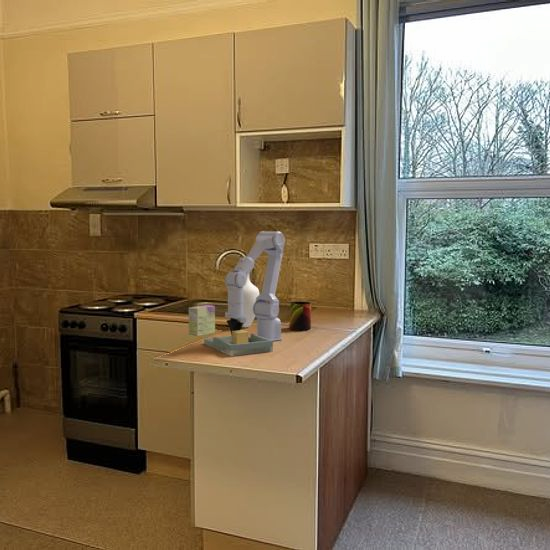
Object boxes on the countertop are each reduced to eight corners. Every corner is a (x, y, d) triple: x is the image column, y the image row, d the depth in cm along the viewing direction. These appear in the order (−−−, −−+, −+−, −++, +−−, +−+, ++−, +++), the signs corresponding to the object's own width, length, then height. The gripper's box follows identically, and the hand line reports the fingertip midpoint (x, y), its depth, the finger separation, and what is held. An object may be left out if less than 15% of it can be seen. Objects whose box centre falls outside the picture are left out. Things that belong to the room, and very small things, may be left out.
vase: (229, 324, 261) (229, 265, 259) (259, 324, 261) (259, 265, 259) (227, 330, 247) (227, 267, 244) (259, 330, 247) (259, 267, 245)
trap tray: (243, 339, 225) (243, 329, 225) (272, 351, 204) (272, 340, 204) (204, 343, 217) (204, 333, 217) (230, 356, 196) (230, 345, 196)
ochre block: (242, 341, 212) (242, 329, 211) (248, 343, 208) (248, 331, 208) (232, 342, 210) (232, 330, 209) (237, 344, 206) (237, 333, 205)
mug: (305, 325, 259) (305, 300, 258) (313, 331, 246) (313, 304, 245) (285, 326, 257) (285, 300, 256) (292, 331, 244) (292, 304, 243)
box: (206, 331, 243) (206, 304, 242) (215, 333, 240) (215, 305, 239) (188, 334, 235) (188, 307, 234) (197, 336, 232) (197, 308, 231)
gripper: (218, 301, 215) (218, 336, 216) (234, 306, 202) (233, 342, 204) (234, 300, 219) (234, 334, 220) (251, 305, 206) (251, 341, 207)
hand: (235, 338), depth 212 cm, fingers closed
